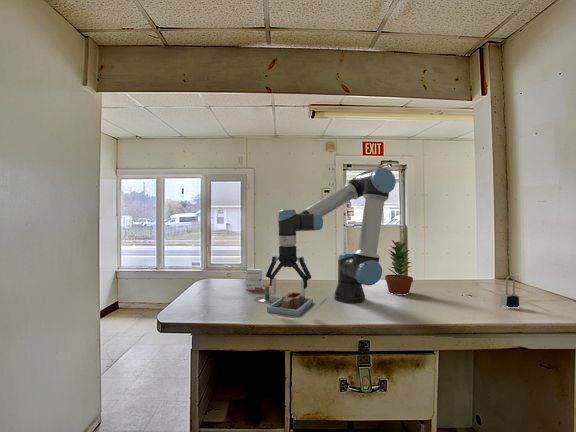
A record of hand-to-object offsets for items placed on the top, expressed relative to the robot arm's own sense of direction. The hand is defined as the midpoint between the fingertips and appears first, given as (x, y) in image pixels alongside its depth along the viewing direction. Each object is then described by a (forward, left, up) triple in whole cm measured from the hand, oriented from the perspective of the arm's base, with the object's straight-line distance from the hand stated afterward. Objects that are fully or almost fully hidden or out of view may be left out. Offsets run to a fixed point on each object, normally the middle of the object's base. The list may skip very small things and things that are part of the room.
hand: (288, 294), depth 134 cm
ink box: (+32, -29, -8) cm, 43 cm away
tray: (+1, -5, -8) cm, 9 cm away
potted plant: (-43, -57, -8) cm, 72 cm away
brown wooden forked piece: (0, -5, -7) cm, 9 cm away
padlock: (-92, -48, -8) cm, 104 cm away
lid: (+16, -12, -8) cm, 21 cm away
